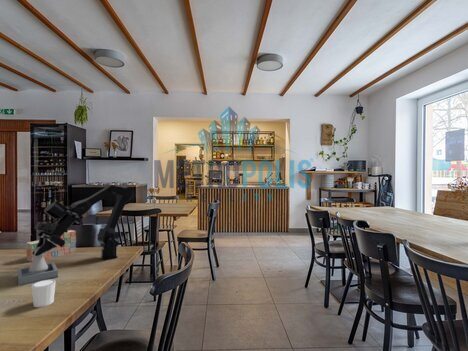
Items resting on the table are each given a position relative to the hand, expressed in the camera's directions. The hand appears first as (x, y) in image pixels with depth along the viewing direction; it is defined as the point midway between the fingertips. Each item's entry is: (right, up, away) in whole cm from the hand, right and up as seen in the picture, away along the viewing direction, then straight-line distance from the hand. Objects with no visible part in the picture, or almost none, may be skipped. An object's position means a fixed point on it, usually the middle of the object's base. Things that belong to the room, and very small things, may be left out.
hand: (34, 254), depth 111 cm
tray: (+1, -10, +1) cm, 10 cm away
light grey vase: (+1, -7, +1) cm, 7 cm away
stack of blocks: (-13, -10, +29) cm, 34 cm away
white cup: (+20, -10, -22) cm, 31 cm away
